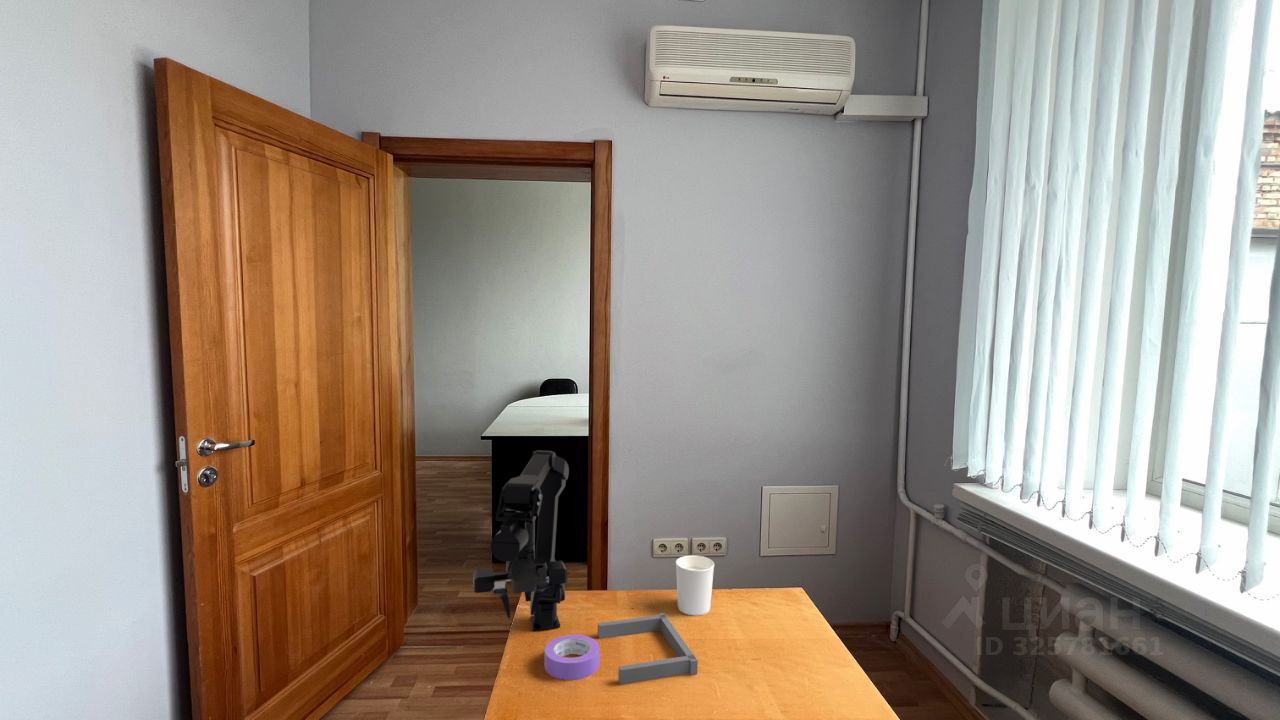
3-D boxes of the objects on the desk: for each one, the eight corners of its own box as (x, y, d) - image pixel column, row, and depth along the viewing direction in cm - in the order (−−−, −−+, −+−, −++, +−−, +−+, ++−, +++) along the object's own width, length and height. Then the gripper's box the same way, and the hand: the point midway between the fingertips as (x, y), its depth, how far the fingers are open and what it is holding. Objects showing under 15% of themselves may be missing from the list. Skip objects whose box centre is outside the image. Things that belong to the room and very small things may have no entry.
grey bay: (597, 634, 144) (597, 621, 144) (663, 624, 149) (663, 613, 149) (621, 686, 124) (621, 672, 124) (697, 674, 129) (697, 660, 129)
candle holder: (711, 619, 153) (712, 572, 152) (672, 614, 154) (673, 568, 154) (714, 601, 162) (715, 557, 161) (677, 597, 164) (678, 553, 163)
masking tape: (536, 658, 134) (536, 641, 134) (585, 645, 140) (585, 629, 140) (556, 687, 124) (556, 668, 124) (608, 671, 130) (608, 654, 129)
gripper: (475, 562, 116) (475, 641, 117) (572, 552, 122) (571, 629, 123) (473, 541, 127) (473, 614, 128) (563, 533, 132) (562, 604, 133)
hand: (520, 616), depth 128 cm, fingers open, 4 cm apart
